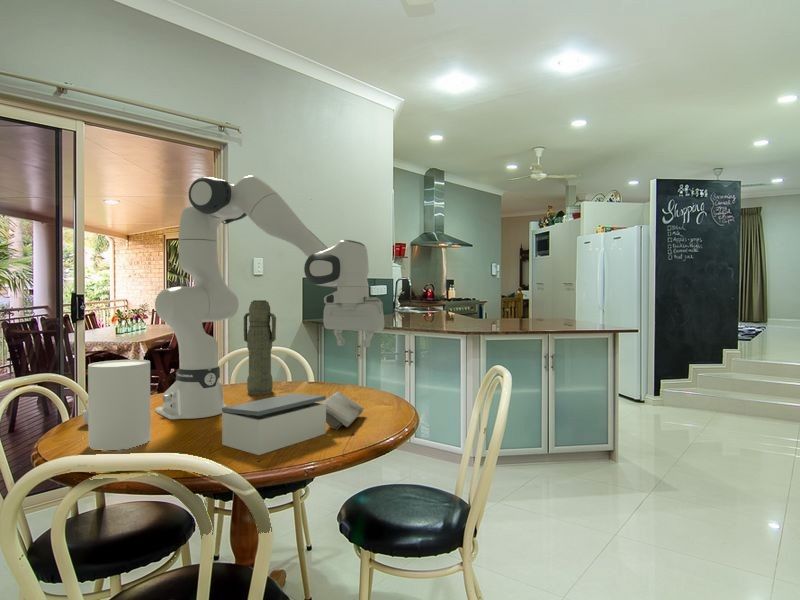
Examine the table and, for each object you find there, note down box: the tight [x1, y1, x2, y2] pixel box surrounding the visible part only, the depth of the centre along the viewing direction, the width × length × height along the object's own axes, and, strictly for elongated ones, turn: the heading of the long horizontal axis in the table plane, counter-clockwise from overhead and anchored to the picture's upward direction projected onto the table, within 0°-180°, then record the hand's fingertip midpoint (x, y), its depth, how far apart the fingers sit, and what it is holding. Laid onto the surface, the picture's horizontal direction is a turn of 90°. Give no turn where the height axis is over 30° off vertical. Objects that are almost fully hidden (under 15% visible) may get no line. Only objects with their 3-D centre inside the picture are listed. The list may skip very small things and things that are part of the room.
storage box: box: [221, 401, 327, 456], centre depth 129 cm, size 14×22×8 cm, turn 144°
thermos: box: [243, 299, 277, 396], centre depth 183 cm, size 9×12×35 cm
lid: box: [222, 393, 327, 416], centre depth 129 cm, size 14×22×1 cm, turn 144°
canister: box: [87, 359, 152, 451], centre depth 125 cm, size 14×14×20 cm
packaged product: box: [320, 390, 365, 431], centre depth 143 cm, size 18×5×10 cm
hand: (353, 346), depth 142 cm, fingers open, 8 cm apart
